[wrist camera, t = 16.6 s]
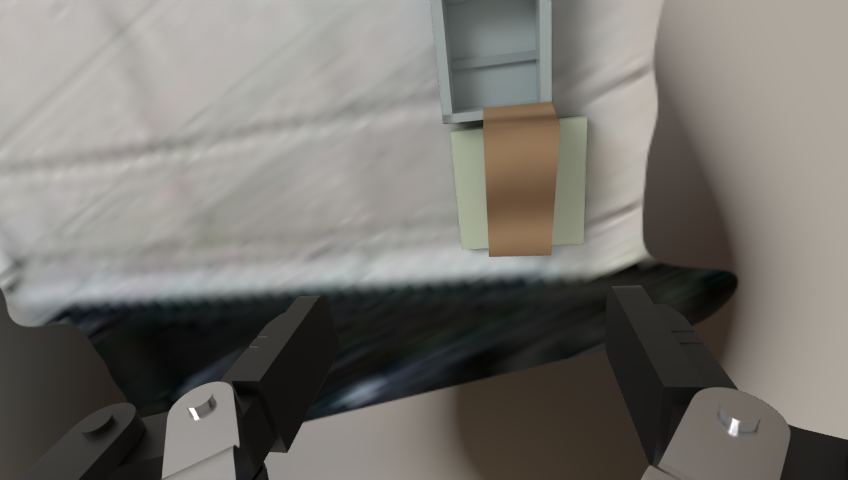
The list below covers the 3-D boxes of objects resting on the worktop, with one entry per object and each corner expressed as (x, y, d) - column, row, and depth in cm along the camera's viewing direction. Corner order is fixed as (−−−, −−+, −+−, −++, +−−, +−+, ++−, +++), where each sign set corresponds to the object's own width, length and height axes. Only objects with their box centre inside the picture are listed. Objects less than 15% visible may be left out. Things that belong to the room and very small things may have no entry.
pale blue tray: (421, -110, 26) (402, -155, 21) (548, -139, 24) (564, -196, 19) (444, 118, 32) (434, 129, 26) (549, 106, 30) (562, 116, 25)
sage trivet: (451, 129, 32) (450, 132, 31) (583, 115, 30) (587, 117, 29) (462, 243, 36) (461, 249, 35) (580, 237, 34) (583, 243, 33)
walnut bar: (483, 107, 27) (483, 131, 24) (551, 101, 26) (560, 125, 23) (488, 225, 33) (489, 256, 30) (544, 223, 32) (550, 255, 29)
